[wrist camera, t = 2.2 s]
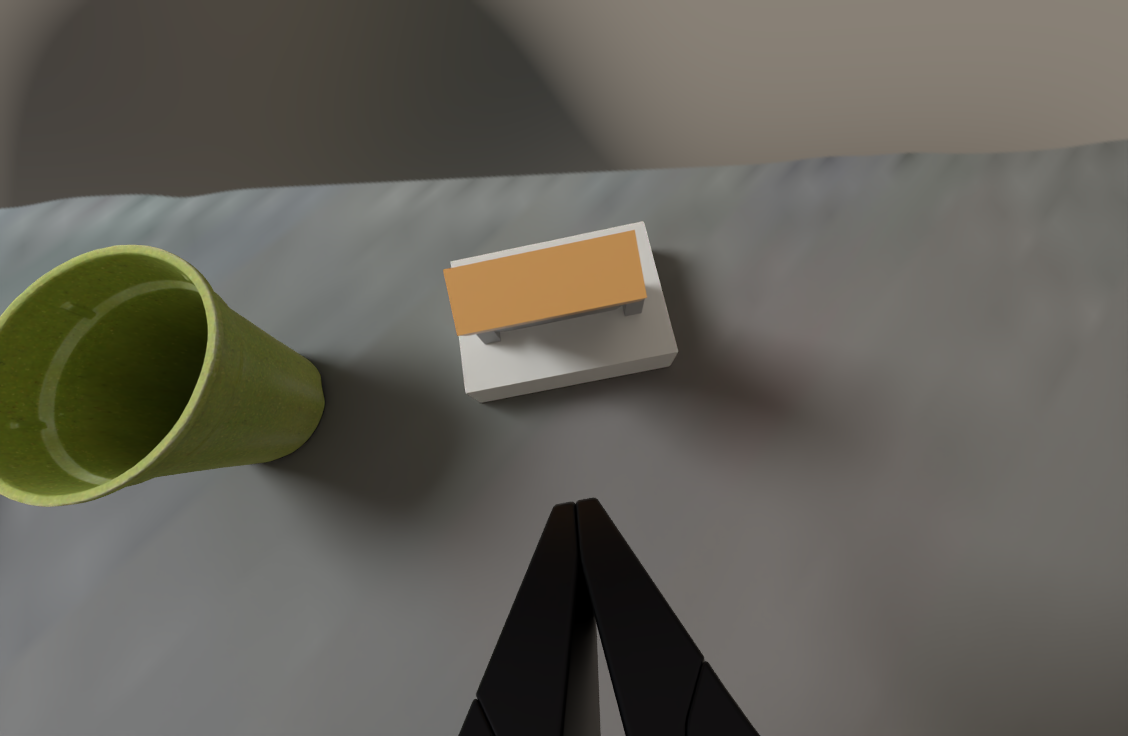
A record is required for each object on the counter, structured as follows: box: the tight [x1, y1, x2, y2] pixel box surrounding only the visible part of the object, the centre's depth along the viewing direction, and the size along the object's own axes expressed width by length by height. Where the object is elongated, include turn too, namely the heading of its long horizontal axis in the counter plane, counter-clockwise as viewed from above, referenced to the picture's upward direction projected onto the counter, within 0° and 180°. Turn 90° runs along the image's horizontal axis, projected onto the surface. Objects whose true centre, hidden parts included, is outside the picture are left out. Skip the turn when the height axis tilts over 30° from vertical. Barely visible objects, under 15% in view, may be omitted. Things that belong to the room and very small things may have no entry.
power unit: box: [451, 221, 678, 403], centre depth 20 cm, size 7×10×4 cm
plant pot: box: [0, 245, 325, 507], centre depth 19 cm, size 9×9×9 cm
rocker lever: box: [443, 230, 647, 336], centre depth 15 cm, size 2×5×8 cm, turn 100°
